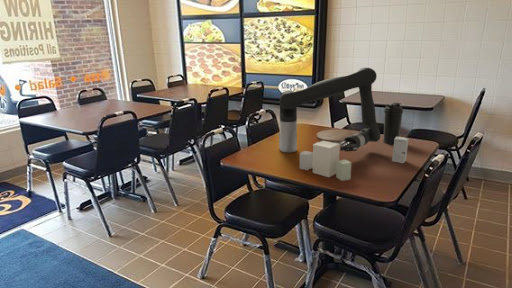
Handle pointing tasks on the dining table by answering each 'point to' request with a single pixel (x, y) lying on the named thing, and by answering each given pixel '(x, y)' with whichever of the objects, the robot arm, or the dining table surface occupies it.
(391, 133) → the water bottle
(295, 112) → the robot arm
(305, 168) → the grey block
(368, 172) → the dining table surface
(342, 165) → the sage block
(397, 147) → the skincare box
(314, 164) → the cream box with panel
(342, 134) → the trivet
